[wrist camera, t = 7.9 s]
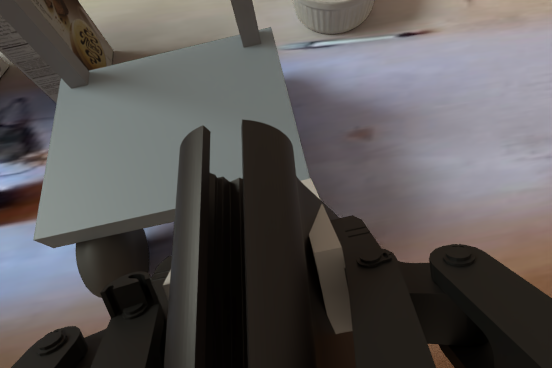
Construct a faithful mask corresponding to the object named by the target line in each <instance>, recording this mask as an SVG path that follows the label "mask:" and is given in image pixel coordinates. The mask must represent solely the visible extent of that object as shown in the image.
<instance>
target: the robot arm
mask: <svg viewBox="0 0 552 368" xmlns="http://www.w3.org/2000/svg"><path fill="white" fill-rule="evenodd" d="M301 182H302V183H303V184H304V185H305V186H306V187H307V188H308V189H309V190H310V191H311V192H312V193H314V194H315V195H316V196H317V197H318V198H319V195H318V193H317V191H316V189H315V186H314V184H313V182H312V180H311V178H310V179H306V180H301ZM319 199H320V198H319ZM309 238H310V242H311V246H312V251H313V255H314V260H315V264H316V268H317V273H318V277H319V282H320V286H321V290H322V295H323V299H324V304H325V308H326V312H327V316H328V318H329V320H330V322H331V325H332V327H333V329H334V331H335V333H336V334H339V333H344V332H349V331H353V341H354V351H355V362H356V368H436V366H435V364H434V361H433V358H432V355H431V352H430V350H429V347H428V344H439V346H440V348H441V350H442V351H443V353H444V354H445V355H446V357H447V358H448V359H449V361H450V362H451V363H452V365H453V366H454V367H455V368H552V298H551V297H549V296H548V295H546V294H545V293H543V292H542V291H540V290H539V289H537V288H536V287H535V286H533V285H532V284H530V283H529V282H527V281H526V280H524V279H523V278H522V277H520V276H519V275H517V274H516V273H514V272H513V271H511V270H510V269H509V268H507V267H506V266H504V265H503V264H501V263H500V262H498V261H497V260H496V259H494V258H493V257H491V256H490V255H488V254H487V253H485V252H484V251H482V250H480V249H478V248H476V247H471V246H467V245H461V244H459V245H457V244H452V245H447V246H442V247H439V248H437V249H435V250H434V251H433V252H432V253H430V258H429V261H430V263H405V262H399V261H397V258H396V257H395V255H394V254H393V253H392V252H390V251H388V250H385V249H381V247H380V246H379V244H378V243H377V241H376V240H375V238H374V237H373V236H372V234H371V233H370V231H369V230H368V228H367V227H366V225H365V224H364V222H363V221H362V220H361V219H359V218H357V217H355V216H348V217H343V218H339V219H334V220H329V218H328V215H327V213H326V211H325V209H324V206H323V204H321V207H320V209H319V212H318V214H317V216H316V219H315V221H314V224H313V226H312V229H311V231H310V233H309ZM171 261H172V256H168V257H167V258H166V259H165V260H164V261H163V262H161V263H160V264H159V265H158V267H157V269H156V271H155V272H154V275H153V276H152V277H150V274H149V273H147V272H141V271H138V272H134V273H129V274H127V275H124V276H121V277H119V278H118V279H116V280H114V281H112V282H111V283H109V284H108V285H107V286H106V287H104V289H103V290H102V291H101V292H100V294H101V296H102V298H103V301H104V303H105V305H106V308H107V310H108V312H109V314H110V317H111V320H110V322H109V325H108V327H107V329H105V330H102V331H100V332H98V333H95V334H93V335H90V336H88V337H85V338H84V337H83V335H82V333H81V331H80V329H79V328H77V327H76V326H72V327H65V328H61V329H57V330H54V331H53V332H50V333H48V334H47V335H45V337H43V338H42V339H40V340H39V341H37V342H36V343H35V344H34V345H33V346H32V347H30V348H29V349H28V350H27V351H26V352H25V354H24V355H23V356H22V357H21V358H20V359H19V360H18V361H17V362H16V363H15V364H14V365H13V366H12V367H11V368H164V357H165V343H166V330H167V316H168V302H169V289H170V275H171Z"/></svg>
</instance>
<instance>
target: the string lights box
mask: <svg viewBox="0 0 552 368" xmlns="http://www.w3.org/2000/svg"><path fill="white" fill-rule="evenodd" d="M8 67H9V64H8V63H6V62H5V61H4V60H3V59H2V58H1V57H0V77H1V76H2V75H3V74H4V72H5V71H6V70H7V68H8Z"/></svg>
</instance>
